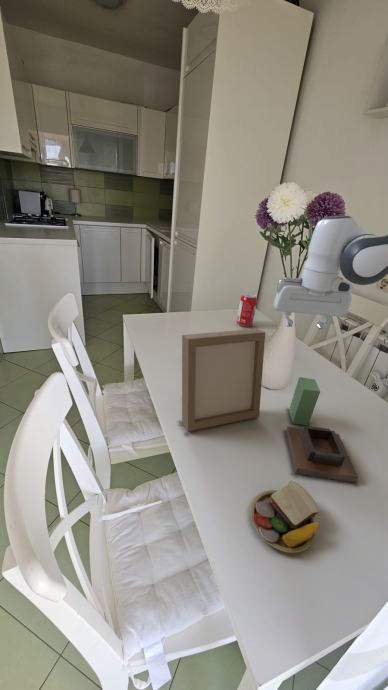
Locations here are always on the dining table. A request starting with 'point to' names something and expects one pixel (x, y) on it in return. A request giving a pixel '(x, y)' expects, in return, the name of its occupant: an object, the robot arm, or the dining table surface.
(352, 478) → the base
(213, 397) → the photo frame
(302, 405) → the back pad
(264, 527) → the toy sandwich meal
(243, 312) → the soda can
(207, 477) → the dining table surface
